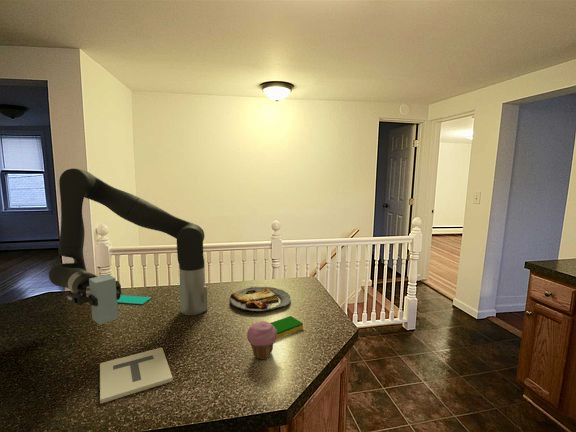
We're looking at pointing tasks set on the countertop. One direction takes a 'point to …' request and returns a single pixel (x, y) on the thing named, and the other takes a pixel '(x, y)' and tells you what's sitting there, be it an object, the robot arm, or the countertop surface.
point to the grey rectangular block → (104, 298)
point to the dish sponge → (287, 326)
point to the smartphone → (133, 300)
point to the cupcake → (262, 338)
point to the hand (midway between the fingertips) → (107, 299)
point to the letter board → (133, 374)
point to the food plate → (259, 298)
